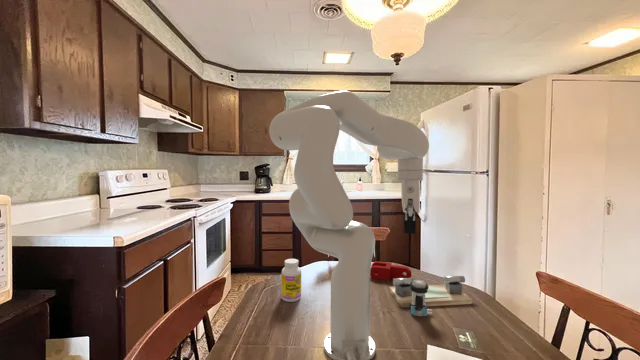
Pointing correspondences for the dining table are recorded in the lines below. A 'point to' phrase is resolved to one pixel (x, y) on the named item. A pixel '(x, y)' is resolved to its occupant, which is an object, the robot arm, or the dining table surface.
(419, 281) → the push button
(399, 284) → the cylinder and cube
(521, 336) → the dining table surface
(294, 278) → the supplement bottle
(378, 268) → the mechanical linkage
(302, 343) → the dining table surface
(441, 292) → the board
